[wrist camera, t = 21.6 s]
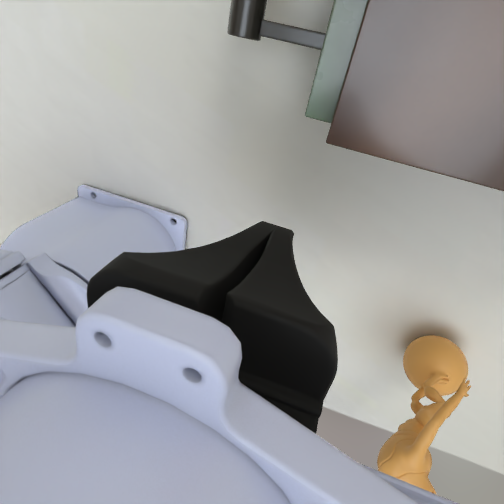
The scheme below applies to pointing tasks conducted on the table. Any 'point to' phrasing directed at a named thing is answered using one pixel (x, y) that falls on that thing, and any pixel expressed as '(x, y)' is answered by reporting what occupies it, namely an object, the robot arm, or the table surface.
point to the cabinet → (428, 88)
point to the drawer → (309, 45)
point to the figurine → (425, 407)
